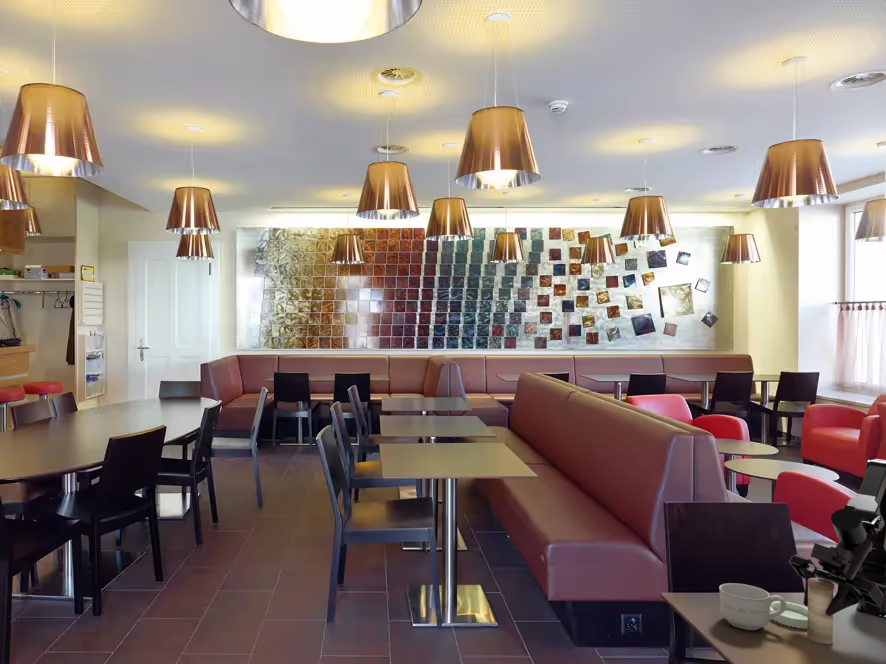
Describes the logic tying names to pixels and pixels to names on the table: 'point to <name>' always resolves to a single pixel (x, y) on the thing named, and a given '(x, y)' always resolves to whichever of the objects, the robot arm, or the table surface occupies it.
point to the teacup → (747, 605)
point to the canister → (819, 611)
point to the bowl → (791, 614)
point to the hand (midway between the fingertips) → (816, 609)
